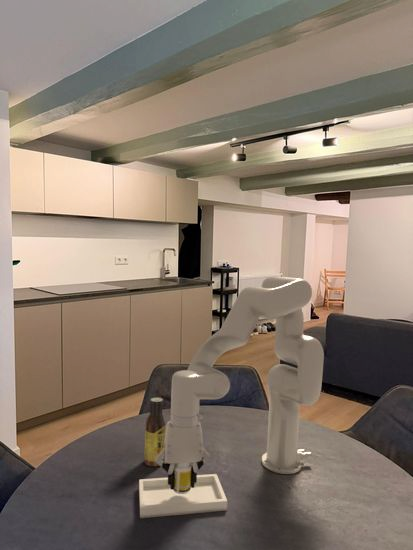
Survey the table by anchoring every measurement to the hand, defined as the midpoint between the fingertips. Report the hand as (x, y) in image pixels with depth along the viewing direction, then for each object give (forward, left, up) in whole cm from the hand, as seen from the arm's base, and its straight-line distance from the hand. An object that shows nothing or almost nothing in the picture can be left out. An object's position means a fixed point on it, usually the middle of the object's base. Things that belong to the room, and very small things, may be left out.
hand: (181, 485), depth 102 cm
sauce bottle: (+6, -20, -4) cm, 21 cm away
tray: (0, 0, -4) cm, 4 cm away
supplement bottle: (0, 0, -1) cm, 1 cm away
